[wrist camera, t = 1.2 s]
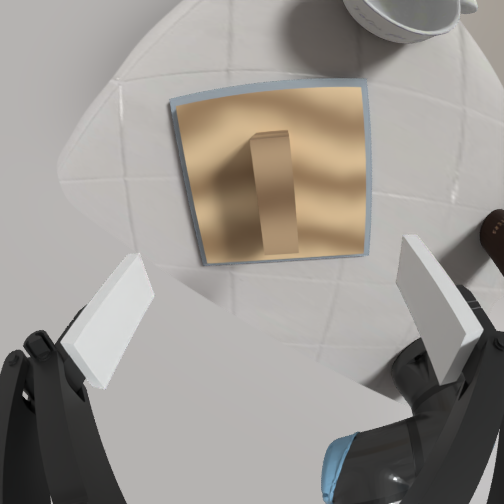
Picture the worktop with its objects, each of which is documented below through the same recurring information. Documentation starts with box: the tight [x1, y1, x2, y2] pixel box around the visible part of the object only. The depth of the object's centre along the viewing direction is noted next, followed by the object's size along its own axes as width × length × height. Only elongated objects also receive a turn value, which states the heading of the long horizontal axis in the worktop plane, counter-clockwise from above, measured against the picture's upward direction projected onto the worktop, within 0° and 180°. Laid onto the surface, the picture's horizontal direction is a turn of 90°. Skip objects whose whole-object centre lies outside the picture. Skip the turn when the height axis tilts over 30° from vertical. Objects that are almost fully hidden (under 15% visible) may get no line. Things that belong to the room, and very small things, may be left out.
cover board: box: [176, 87, 366, 264], centre depth 26 cm, size 18×18×7 cm
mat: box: [169, 78, 372, 266], centre depth 30 cm, size 20×20×1 cm
